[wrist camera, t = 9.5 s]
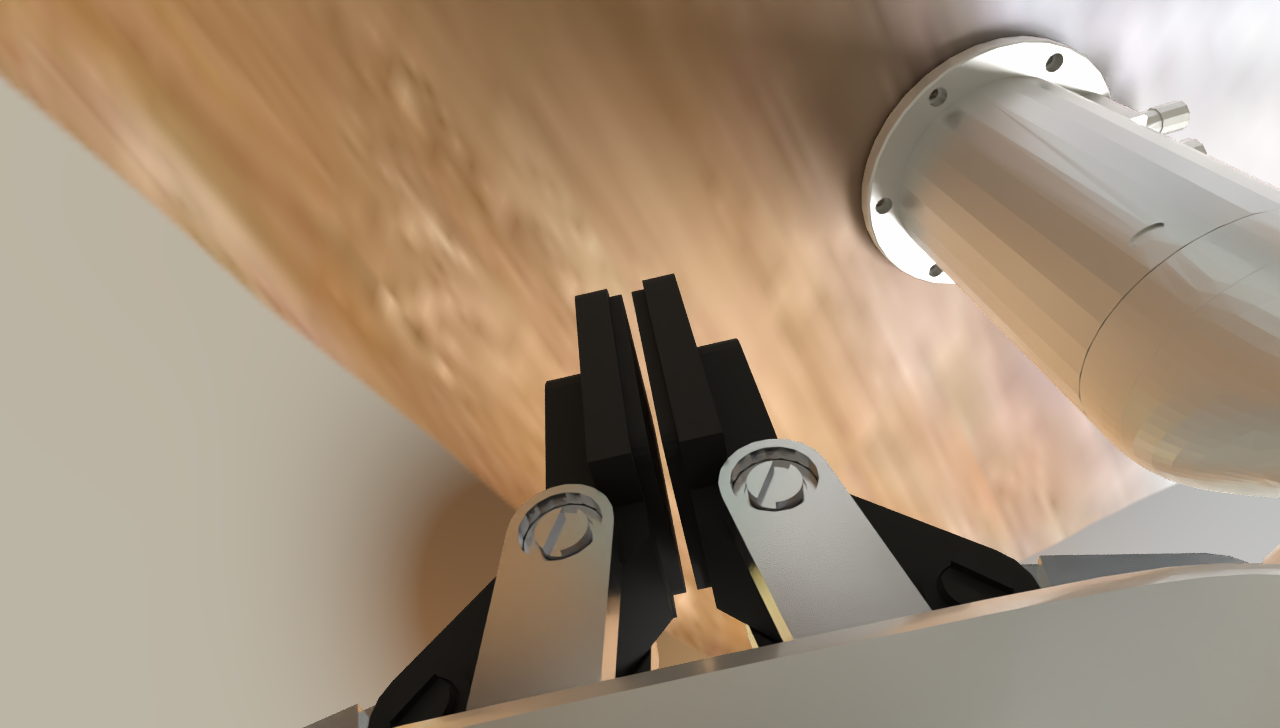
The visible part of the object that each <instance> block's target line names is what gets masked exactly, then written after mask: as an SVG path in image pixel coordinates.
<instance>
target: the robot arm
mask: <svg viewBox="0 0 1280 728" xmlns="http://www.w3.org/2000/svg"><path fill="white" fill-rule="evenodd" d="M932 92H933V93H932ZM931 93H932V94H931ZM930 94H931V95H930ZM1189 118H1190V112H1189V110H1188V107H1187V105H1186V104H1185V103H1183V102H1182V101H1173V102H1170V103H1166V104H1163V105H1160V106H1156V107H1153V108H1150V109H1148V110H1147V111H1144V112H1141V113H1139V112H1137V111H1135V110H1133V109H1131V108H1128V107H1126V106H1124V105H1122V104H1119V103H1117V102H1115V101H1113V100H1111V95H1110V91H1109V88H1108V86H1107V84H1106V82H1105V80H1104V78H1103V76H1102V74H1101V72H1100V71H1099V70H1098V69H1097V67H1096V66H1095V65H1094V64H1093V63H1092V62H1091V61H1090V60H1089V59H1088V58H1087V57H1086V56H1084V55H1083V54H1081V53H1079V52H1078V51H1076V50H1074V49H1072V48H1071V47H1069V46H1067V45H1064V44H1061V43H1058V42H1056V41H1053V40H1050V39H1047V38H1039V37H1032V36H1016V37H1005V38H999V39H995V40H992V41H988V42H985V43H982V44H978V45H975V46H973V47H971V48H969V49H967V50H965V51H963V52H961V53H959V54H957V55H955V56H953V57H951V58H949V59H948V60H946V61H945V62H943V63H942V64H941V65H939V66H938V67H936V68H935V69H934V70H932V71H931V72H929V73H928V74H927V75H925V76H924V77H923V78H922V79H921V80H920V81H919V82H918V83H917V84H916V85H915V86H914V87H913V88H912V89H911V90H910V91H909V92H908V93H907V94H906V95H905V96H904V97H903V98H902V100H901V101H900V102H899V104H898V105H897V106H896V107H895V109H894V110H893V111H892V113H891V114H890V115H889V116H888V118H887V120H886V122H885V123H884V125H883V127H882V129H881V130H880V132H879V134H878V136H877V137H876V139H875V141H874V144H873V147H872V149H871V152H870V155H869V157H868V160H867V163H866V167H865V172H864V178H863V183H862V211H863V216H864V220H865V225H866V228H867V230H868V232H869V234H870V236H871V238H872V240H873V242H874V244H875V245H876V247H877V248H878V249H879V250H880V251H881V253H882V254H883V255H884V256H885V258H886V259H887V260H889V261H890V262H891V263H892V264H893V265H894V266H895V267H896V268H897V269H899V270H900V271H902V272H904V273H906V274H908V275H910V276H912V277H914V278H916V279H919V280H923V281H926V282H931V283H946V284H956V285H957V286H958V287H959V288H960V289H961V290H962V291H963V292H964V293H965V294H966V295H967V296H968V297H969V298H970V299H971V300H972V301H973V302H974V303H975V304H976V305H977V307H978V308H979V309H980V310H981V311H982V312H983V313H984V314H985V315H986V316H987V317H988V318H989V319H990V320H991V321H992V322H993V323H994V324H995V325H996V326H997V327H998V328H999V329H1000V330H1001V331H1002V332H1003V333H1004V334H1005V335H1006V336H1007V337H1008V338H1009V339H1010V340H1011V341H1012V342H1013V343H1014V344H1015V345H1016V346H1017V347H1018V348H1019V349H1020V350H1021V351H1022V352H1023V353H1024V354H1025V355H1026V356H1027V357H1028V358H1029V359H1030V360H1031V361H1032V362H1033V363H1034V365H1035V366H1036V367H1037V368H1038V369H1039V370H1040V371H1041V372H1042V373H1043V374H1044V375H1045V376H1046V377H1047V378H1048V379H1049V380H1050V381H1051V382H1052V383H1053V384H1054V385H1055V386H1056V387H1057V388H1058V389H1059V390H1060V391H1061V392H1062V393H1063V394H1064V395H1065V396H1066V397H1067V398H1068V399H1069V400H1070V401H1071V402H1072V403H1073V404H1074V405H1075V406H1076V407H1077V408H1078V409H1079V410H1080V411H1081V412H1082V413H1083V414H1084V415H1085V416H1086V417H1087V418H1088V419H1089V420H1090V421H1091V423H1092V424H1093V425H1094V426H1095V427H1096V428H1097V429H1098V430H1099V431H1100V432H1101V433H1102V434H1103V435H1104V436H1105V437H1106V438H1107V439H1108V440H1109V441H1110V442H1111V443H1112V444H1113V445H1114V446H1115V447H1117V448H1118V449H1119V450H1120V451H1121V452H1123V453H1124V454H1125V455H1126V456H1127V457H1129V458H1130V459H1131V460H1133V461H1134V462H1136V463H1137V464H1139V465H1140V466H1142V467H1143V468H1145V469H1147V470H1149V471H1151V472H1153V473H1155V474H1157V475H1160V476H1162V477H1164V478H1166V479H1168V480H1171V481H1174V482H1177V483H1180V484H1184V485H1187V486H1191V487H1194V488H1199V489H1204V490H1208V491H1215V492H1222V493H1229V494H1237V495H1247V496H1259V497H1271V498H1280V189H1279V188H1277V187H1275V186H1273V185H1270V184H1268V183H1266V182H1264V181H1262V180H1260V179H1258V178H1255V177H1253V176H1251V175H1249V174H1247V173H1245V172H1243V171H1241V170H1238V169H1236V168H1234V167H1232V166H1230V165H1228V164H1226V163H1223V162H1221V161H1219V160H1217V159H1215V158H1213V157H1211V156H1209V155H1207V153H1206V151H1205V149H1204V146H1203V145H1202V144H1201V143H1200V142H1199V141H1198V140H1196V139H1190V138H1188V139H1185V140H1181V141H1177V140H1174V139H1172V138H1170V137H1168V136H1166V135H1165V134H1169V133H1172V132H1176V131H1179V130H1182V129H1183V128H1185V127H1186V126H1187V124H1188V122H1189ZM642 282H643V287H644V289H643V290H638V291H634V292H632V297H633V302H634V307H635V312H636V317H637V322H638V327H639V332H640V337H641V342H642V347H643V352H644V356H645V361H646V366H647V371H648V376H649V381H650V386H651V391H652V396H653V401H654V406H655V411H656V416H657V421H658V426H659V431H660V435H661V440H662V445H663V449H664V453H665V458H666V462H667V466H668V470H669V474H670V478H671V482H672V487H673V491H674V495H675V499H676V503H677V507H678V511H679V515H680V519H681V523H682V528H683V532H684V536H685V540H686V544H687V548H688V552H689V556H690V560H691V564H692V569H693V573H694V577H695V581H696V585H697V589H698V590H699V589H703V588H708V587H712V589H713V594H714V598H715V603H716V607H717V609H719V610H721V611H723V612H725V613H727V614H728V615H730V616H732V617H734V618H736V619H738V620H739V621H741V622H743V623H745V627H746V631H747V635H748V638H749V641H750V643H751V645H752V647H753V649H749V650H744V651H740V652H735V653H730V654H726V655H721V656H716V657H712V658H707V659H702V660H698V661H693V662H689V663H684V664H679V665H675V666H670V667H665V668H661V669H659V655H658V649H657V643H656V640H657V638H658V637H659V636H660V635H661V633H662V632H663V631H664V629H665V628H666V627H667V625H668V624H669V623H670V622H671V620H672V619H673V618H675V617H677V614H676V608H675V603H674V597H673V595H676V594H681V593H685V592H686V587H685V582H684V577H683V571H682V566H681V561H680V556H679V551H678V546H677V541H676V535H675V530H674V525H673V520H672V515H671V510H670V505H669V500H668V494H667V489H666V484H665V479H664V474H663V469H662V464H661V458H660V453H659V448H658V443H657V438H656V433H655V428H654V424H653V419H652V415H651V411H650V407H649V403H648V399H647V395H646V391H645V387H644V383H643V379H642V375H641V371H640V367H639V363H638V359H637V355H636V351H635V347H634V343H633V339H632V334H631V330H630V326H629V322H628V318H627V314H626V310H625V306H624V302H623V298H622V295H617V296H612V297H609V293H608V290H607V289H604V290H600V291H595V292H591V293H587V294H582V295H578V296H575V306H576V319H577V332H578V345H579V358H580V372H581V374H577V375H573V376H568V377H564V378H559V379H555V380H551V381H547V382H546V384H545V445H546V490H545V491H543V492H540V493H538V494H536V495H535V496H533V497H532V498H531V499H529V500H528V501H527V502H525V503H524V504H523V505H522V506H521V507H520V508H519V510H518V511H517V512H516V513H515V515H514V516H513V517H512V520H511V522H510V525H509V527H508V530H507V533H506V537H505V542H504V546H503V551H502V555H501V559H500V563H499V568H498V572H497V576H496V577H495V578H494V579H493V580H492V581H491V582H490V583H489V584H488V585H487V586H486V587H485V588H484V589H483V590H482V591H481V592H480V593H479V594H478V595H477V596H476V597H475V599H473V600H472V601H471V602H470V603H469V605H467V606H466V607H465V608H464V609H463V610H462V611H461V612H460V614H458V615H457V616H456V617H455V619H454V620H453V621H452V622H451V623H450V624H449V625H448V626H447V627H446V628H445V629H444V630H443V631H442V632H441V633H440V634H439V635H438V636H437V637H436V638H435V639H434V640H433V641H432V642H431V643H430V644H429V645H428V646H427V647H426V648H425V649H424V650H423V651H422V652H421V653H420V654H419V655H418V656H417V657H416V658H415V659H414V660H413V661H412V662H411V663H410V664H409V665H408V666H407V667H406V668H405V669H404V670H403V671H402V672H401V673H400V674H399V675H398V676H397V677H396V678H395V679H394V680H393V681H392V682H391V684H390V685H389V686H388V687H387V689H386V690H385V691H384V693H383V694H382V695H381V696H380V697H379V699H378V701H377V703H376V705H375V706H372V707H370V708H368V709H366V710H362V708H361V707H360V706H359V705H358V704H356V705H354V706H351V707H349V708H347V709H345V710H342V711H340V712H338V713H336V714H333V715H331V716H329V717H326V718H324V719H322V720H320V721H317V722H315V723H313V724H310V725H308V726H306V727H304V728H1280V544H1279V545H1278V546H1277V547H1276V548H1275V549H1274V550H1273V551H1272V552H1271V553H1270V554H1269V555H1268V556H1267V557H1266V558H1265V559H1264V561H1263V563H1262V564H1253V563H1247V562H1244V561H1242V560H1239V559H1236V558H1233V557H1231V556H1225V555H1215V554H1207V553H1189V554H1188V553H1185V554H1184V553H1183V554H1122V555H1059V556H1058V555H1055V556H1039V560H1038V564H1033V565H1032V564H1029V565H1028V564H1027V565H1020V564H1019V563H1018V562H1017V561H1016V560H1014V559H1012V558H1010V557H1008V556H1006V555H1004V554H1002V553H1001V552H999V551H997V550H994V549H992V548H989V547H986V546H984V545H981V544H979V543H976V542H973V541H971V540H968V539H965V538H963V537H960V536H958V535H955V534H952V533H950V532H947V531H945V530H942V529H939V528H937V527H934V526H932V525H929V524H926V523H924V522H921V521H919V520H916V519H913V518H911V517H908V516H906V515H903V514H900V513H898V512H895V511H893V510H890V509H887V508H885V507H882V506H879V505H877V504H874V503H872V502H869V501H866V500H864V499H861V498H859V497H856V496H853V495H851V494H849V493H848V491H847V490H846V488H845V487H844V485H843V484H842V483H841V481H840V480H839V478H838V477H837V476H836V474H835V473H834V471H833V470H832V469H831V467H830V466H829V464H828V463H827V461H826V460H825V459H824V458H823V457H822V456H821V455H820V454H819V453H818V452H817V451H816V450H815V449H813V448H811V447H809V446H807V445H805V444H803V443H800V442H796V441H792V440H787V439H778V438H777V436H776V433H775V431H774V428H773V426H772V423H771V421H770V418H769V416H768V413H767V411H766V408H765V406H764V403H763V401H762V398H761V395H760V393H759V390H758V388H757V385H756V383H755V380H754V378H753V375H752V373H751V370H750V368H749V365H748V363H747V360H746V358H745V355H744V353H743V350H742V348H741V345H740V343H739V341H738V339H736V338H735V339H731V340H727V341H722V342H718V343H713V344H709V345H705V346H700V347H697V346H696V343H695V340H694V336H693V333H692V330H691V327H690V323H689V320H688V317H687V314H686V310H685V307H684V304H683V301H682V298H681V294H680V291H679V288H678V285H677V281H676V278H675V275H674V274H669V275H665V276H661V277H656V278H652V279H648V280H643V281H642Z"/></svg>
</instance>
